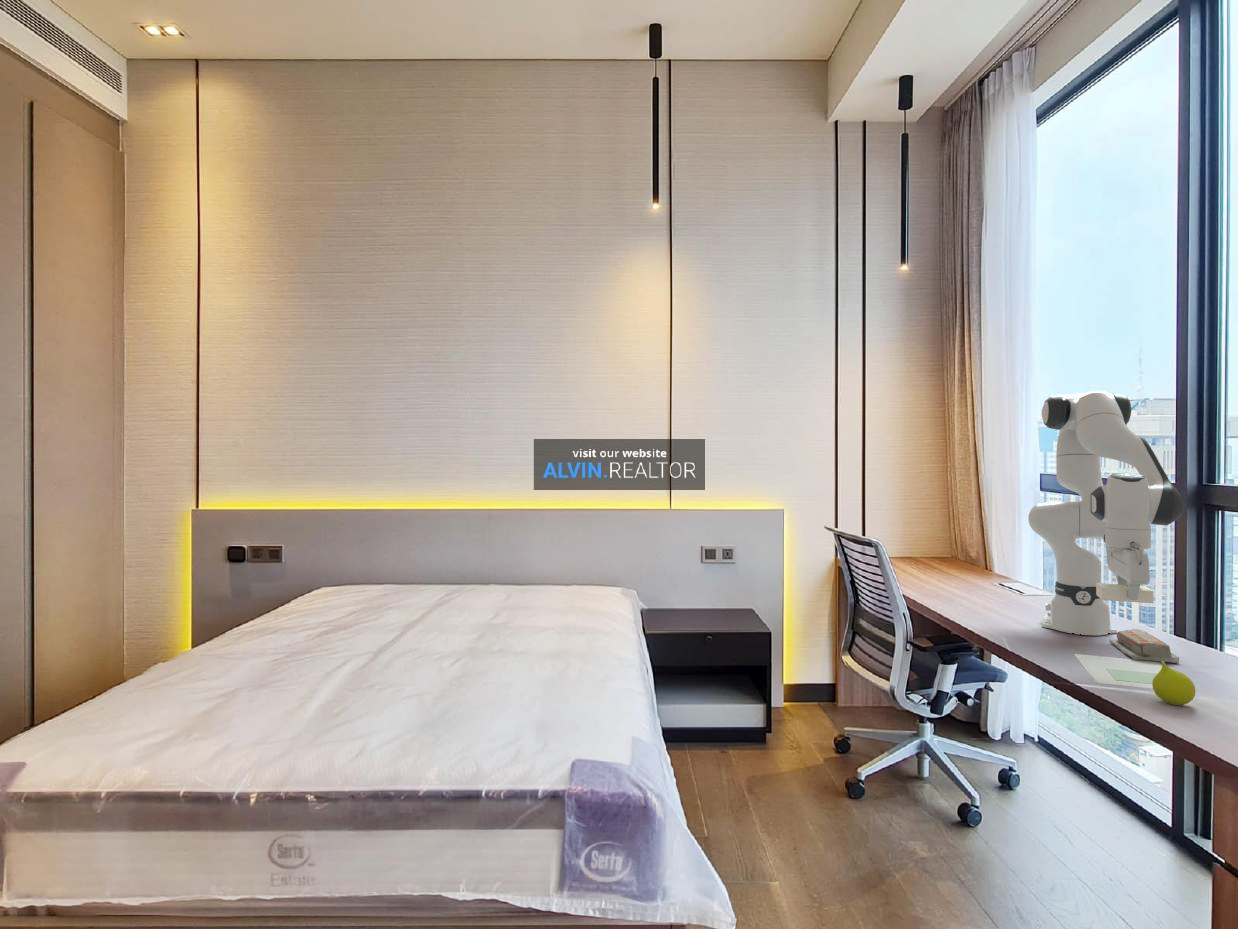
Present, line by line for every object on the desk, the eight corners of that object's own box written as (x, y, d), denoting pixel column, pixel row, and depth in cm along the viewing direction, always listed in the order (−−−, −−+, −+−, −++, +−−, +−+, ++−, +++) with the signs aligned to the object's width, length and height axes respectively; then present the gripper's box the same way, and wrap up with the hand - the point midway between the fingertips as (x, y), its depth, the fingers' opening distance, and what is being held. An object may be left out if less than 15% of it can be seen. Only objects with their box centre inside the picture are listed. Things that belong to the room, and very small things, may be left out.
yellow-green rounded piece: (1145, 697, 146) (1144, 652, 146) (1181, 698, 145) (1181, 653, 145) (1165, 709, 139) (1165, 662, 139) (1203, 711, 138) (1203, 663, 138)
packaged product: (1180, 645, 166) (1132, 641, 170) (1180, 664, 166) (1133, 660, 170) (1151, 628, 183) (1108, 626, 187) (1151, 646, 183) (1108, 643, 186)
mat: (1073, 655, 176) (1073, 653, 176) (1157, 663, 169) (1157, 661, 169) (1096, 684, 154) (1096, 682, 154) (1194, 695, 147) (1194, 692, 147)
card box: (1096, 582, 166) (1145, 585, 162) (1096, 595, 166) (1145, 598, 162) (1102, 587, 161) (1153, 590, 157) (1102, 600, 161) (1153, 603, 157)
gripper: (1158, 546, 150) (1158, 606, 150) (1131, 535, 169) (1131, 589, 169) (1124, 545, 153) (1124, 604, 153) (1101, 534, 171) (1101, 587, 172)
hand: (1127, 596), depth 161 cm, fingers closed on card box, 6 cm apart
